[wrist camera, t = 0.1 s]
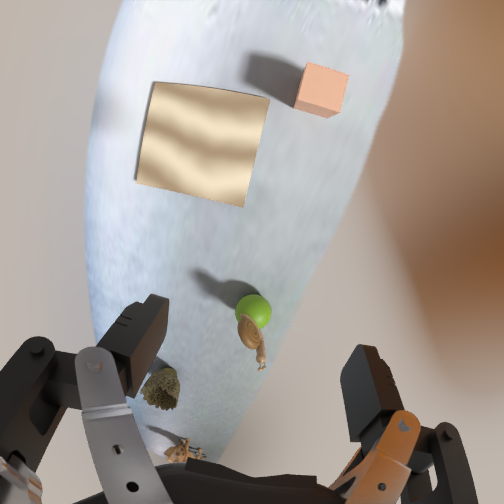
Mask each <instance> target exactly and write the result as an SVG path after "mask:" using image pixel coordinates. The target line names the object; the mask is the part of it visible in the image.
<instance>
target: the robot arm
mask: <svg viewBox="0 0 504 504" xmlns="http://www.w3.org/2000/svg"><path fill="white" fill-rule="evenodd" d="M168 311H169V299H168V298H164V297H161V296H158V295H155V294H150V295H149V297H148V298H147V299H146V301H145V302H144V303H143V304H142V303H139V302H135V303H133V304H131V305H129V306H127V307H126V308H125V309H124V311H123V312H122V313H121V314H120V316H119V317H118V318H117V319H116V321H115V323H113V325H112V326H111V327H110V328H109V330H108V331H107V332H106V334H105V335H104V336H103V337H102V339H101V340H100V341H99V343H98V344H97V345H96V346H95V347H87V348H85V349H82V350H81V351H80V352H79V353H78V354H72V353H67V352H61V351H56V350H55V348H54V345H53V343H52V342H51V341H50V340H49V339H47V338H45V337H40V336H38V337H32V338H29V339H28V340H26V341H25V342H24V343H23V344H22V345H21V347H20V348H19V349H18V350H17V351H16V352H15V354H14V355H13V356H12V357H11V359H10V360H9V361H8V362H7V364H6V365H5V366H4V367H3V369H2V370H1V371H0V504H42V502H41V496H42V484H41V482H40V479H39V478H38V476H37V475H36V474H35V472H36V470H37V468H38V465H39V463H40V461H41V459H42V457H43V455H44V453H45V450H46V448H47V446H48V444H49V442H50V440H51V438H52V436H53V434H54V432H55V430H56V428H57V426H58V424H59V422H60V421H61V419H62V417H63V415H64V413H65V411H66V409H67V408H68V407H69V408H74V409H79V410H82V411H83V412H82V420H83V424H84V429H85V433H86V437H87V441H88V444H89V448H90V452H91V455H92V458H93V462H94V464H95V468H96V471H97V474H98V477H99V480H100V483H101V485H102V488H103V491H102V492H100V493H98V494H96V495H93V496H91V497H88V498H86V499H83V500H81V501H78V502H76V503H73V504H396V502H397V500H398V499H399V497H400V496H401V504H478V499H477V496H476V490H475V486H474V482H473V478H472V474H471V471H470V467H469V464H468V460H467V457H466V454H465V450H464V447H463V444H462V441H461V438H460V435H459V432H458V430H457V429H456V428H455V427H454V426H453V425H452V424H450V423H447V422H442V423H440V424H439V425H438V426H437V427H436V428H435V429H431V428H427V427H424V426H421V425H420V422H419V420H418V418H417V417H416V416H415V415H414V414H413V413H411V412H409V411H406V410H404V407H403V404H402V401H401V398H400V395H399V392H398V390H397V387H396V386H395V381H394V379H393V376H392V373H391V370H390V368H389V366H388V365H387V364H386V363H385V361H384V360H383V359H380V356H379V354H378V351H377V349H376V347H374V346H368V345H362V344H359V345H357V346H356V348H355V349H354V351H353V353H352V354H351V356H350V358H349V359H348V361H347V363H346V364H345V366H344V368H343V370H342V372H341V377H340V382H341V388H342V393H343V399H344V404H345V410H346V416H347V422H348V428H349V435H350V442H361V447H360V448H359V449H358V450H357V451H356V453H355V455H354V456H353V457H352V459H351V461H350V462H349V463H348V465H347V466H346V467H345V469H344V470H343V472H342V473H341V474H340V476H339V477H338V478H337V479H336V480H335V482H334V483H332V484H331V485H330V486H329V487H328V488H327V487H325V486H323V485H320V484H317V477H316V476H308V475H290V474H285V475H277V476H269V477H256V478H254V477H250V476H247V475H245V474H242V473H239V472H237V471H235V470H232V469H230V468H227V467H225V466H223V465H220V464H216V463H211V462H207V461H203V460H198V459H195V458H191V457H188V458H187V461H186V463H172V464H164V465H160V466H156V467H154V465H153V463H152V460H151V458H150V456H149V454H148V451H147V449H146V447H145V444H144V442H143V439H142V437H141V434H140V432H139V429H138V427H137V424H136V421H135V419H134V416H133V413H132V411H131V408H130V407H129V406H128V404H127V401H126V398H125V397H126V396H129V397H131V398H135V396H136V394H137V392H138V390H139V388H140V386H141V384H142V382H143V380H144V378H145V376H146V374H147V372H148V370H149V368H150V366H151V364H152V362H153V360H154V359H155V357H156V355H157V353H158V351H159V349H160V347H161V345H162V343H163V341H164V338H165V335H166V331H167V323H168ZM433 465H434V466H435V471H436V475H437V480H438V483H437V487H436V488H435V490H434V491H433V492H432V486H431V482H430V476H429V471H428V468H430V467H431V466H433Z"/></svg>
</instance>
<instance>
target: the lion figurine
mask: <svg viewBox="0 0 504 504" xmlns="http://www.w3.org/2000/svg"><path fill="white" fill-rule="evenodd" d="M185 440H186V444H185V446H184V443H185V442H184V441H183V440H180V442H181V445H177V446H175V447H170V448H169V449H167V451H165V452H164V454H165V455H166V457H167V460H168V461H169V462H186V461H187V458H188V457H191V458H195V459H198V460H201V459H203V458H207V457H206V456H203V457H201V458H200V455H201V452H202V449H201V448H198V450H199V453H197V452H196V453H195V454H196V456H195V457H194V456H193V454H192V453H191V452H190V451H188V447H189V441H190V440H189V439H187V438H186V439H185ZM183 446H184V447H183Z"/></svg>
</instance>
